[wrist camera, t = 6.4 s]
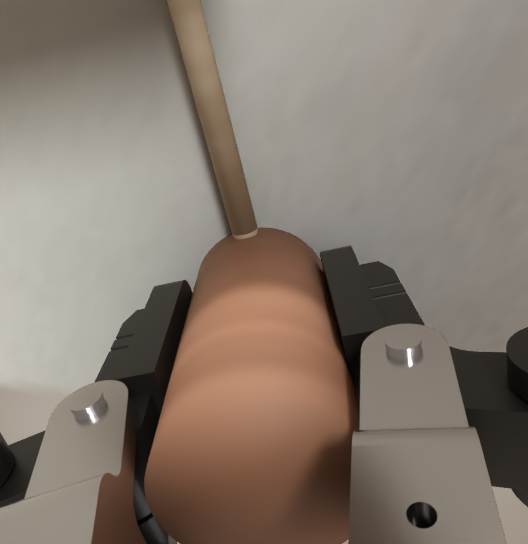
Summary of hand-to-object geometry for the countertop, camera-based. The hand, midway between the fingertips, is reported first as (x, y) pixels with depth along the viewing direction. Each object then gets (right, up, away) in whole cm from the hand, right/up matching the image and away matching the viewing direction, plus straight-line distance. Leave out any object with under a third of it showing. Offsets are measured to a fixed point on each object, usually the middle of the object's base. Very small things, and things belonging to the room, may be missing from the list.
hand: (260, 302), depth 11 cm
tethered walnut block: (-2, +7, -2) cm, 7 cm away
